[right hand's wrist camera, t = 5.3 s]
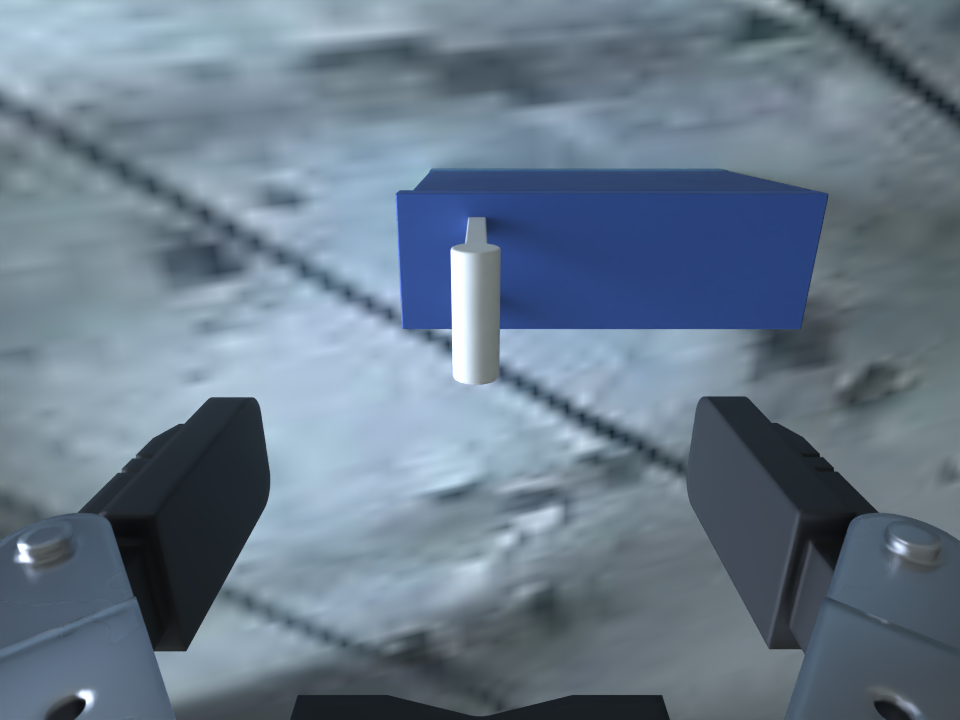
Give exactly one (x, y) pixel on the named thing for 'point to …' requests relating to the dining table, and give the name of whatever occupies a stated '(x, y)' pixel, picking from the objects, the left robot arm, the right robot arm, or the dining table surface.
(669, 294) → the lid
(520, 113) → the dining table surface
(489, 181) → the chest
